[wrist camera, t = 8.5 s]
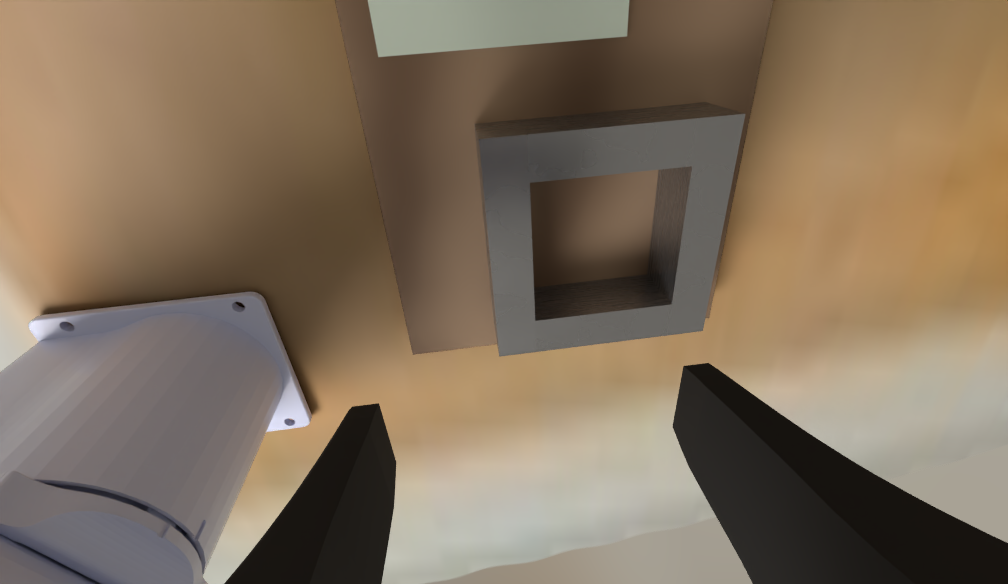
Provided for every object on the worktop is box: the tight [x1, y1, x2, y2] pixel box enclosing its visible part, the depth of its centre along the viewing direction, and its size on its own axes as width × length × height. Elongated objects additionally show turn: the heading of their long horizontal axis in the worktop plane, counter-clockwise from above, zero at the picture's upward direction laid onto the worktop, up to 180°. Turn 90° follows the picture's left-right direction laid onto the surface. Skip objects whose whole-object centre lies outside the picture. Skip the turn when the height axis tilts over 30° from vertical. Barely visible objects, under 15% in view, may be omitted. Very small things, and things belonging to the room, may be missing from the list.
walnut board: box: [335, 0, 773, 355], centre depth 16 cm, size 14×21×2 cm, turn 4°
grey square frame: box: [474, 102, 745, 356], centre depth 17 cm, size 8×8×2 cm
